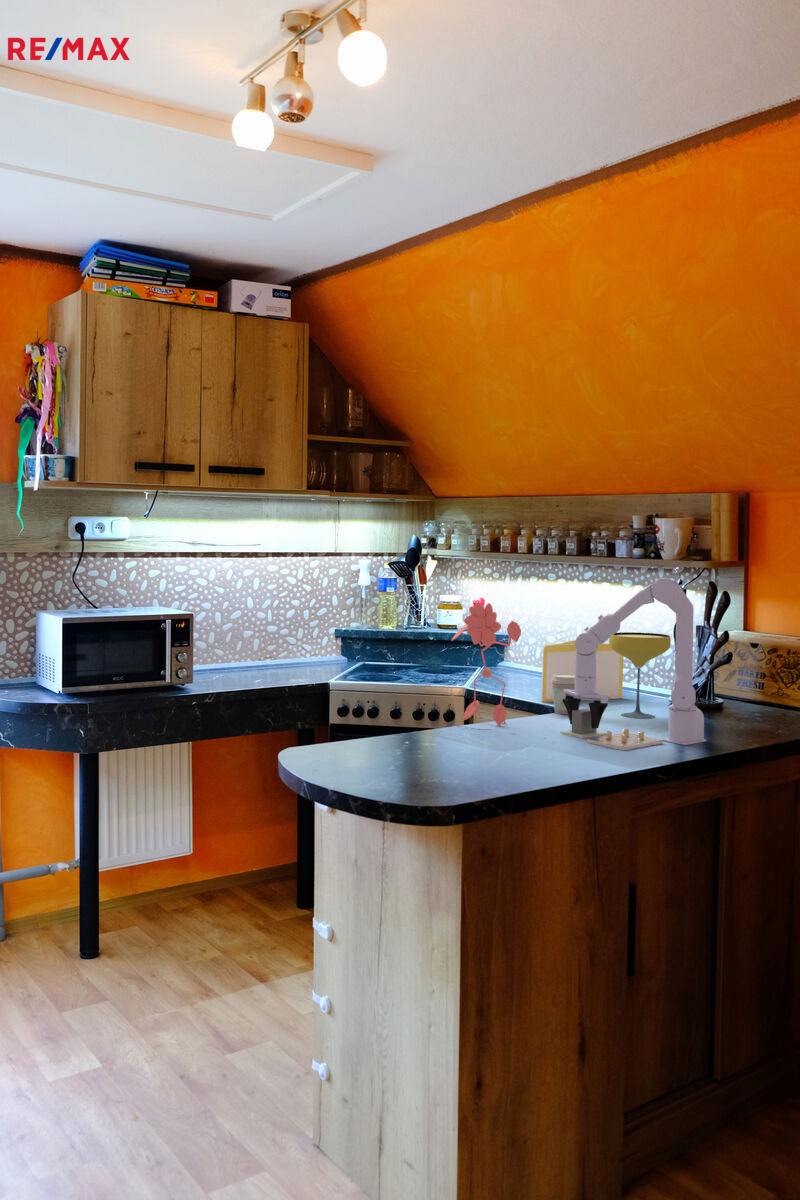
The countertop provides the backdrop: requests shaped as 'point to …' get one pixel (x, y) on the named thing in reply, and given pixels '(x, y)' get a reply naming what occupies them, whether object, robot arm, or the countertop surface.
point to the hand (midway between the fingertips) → (584, 726)
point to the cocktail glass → (639, 656)
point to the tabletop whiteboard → (563, 662)
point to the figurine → (484, 629)
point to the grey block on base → (582, 725)
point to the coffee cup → (561, 690)
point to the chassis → (625, 740)
